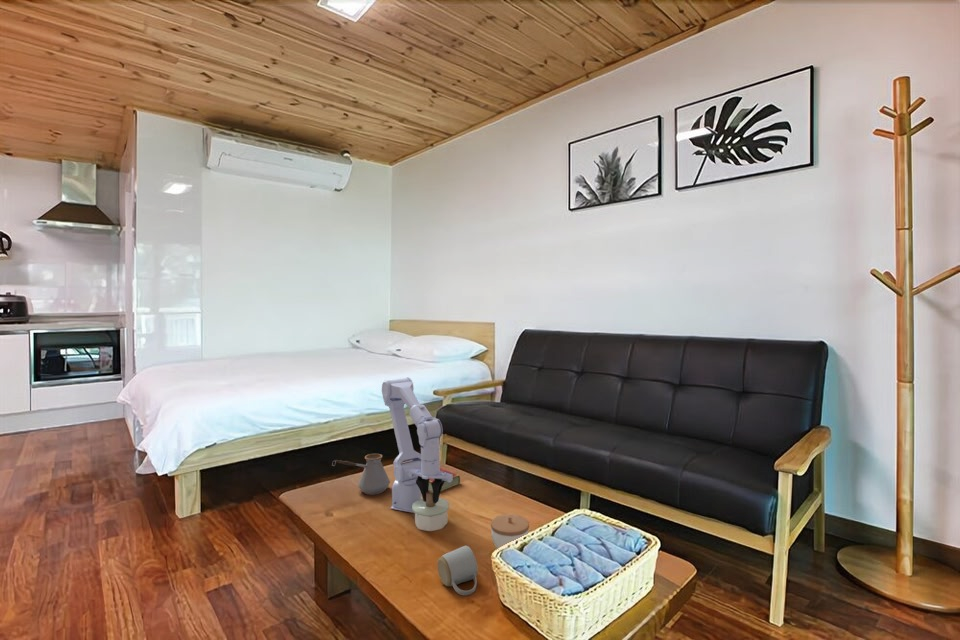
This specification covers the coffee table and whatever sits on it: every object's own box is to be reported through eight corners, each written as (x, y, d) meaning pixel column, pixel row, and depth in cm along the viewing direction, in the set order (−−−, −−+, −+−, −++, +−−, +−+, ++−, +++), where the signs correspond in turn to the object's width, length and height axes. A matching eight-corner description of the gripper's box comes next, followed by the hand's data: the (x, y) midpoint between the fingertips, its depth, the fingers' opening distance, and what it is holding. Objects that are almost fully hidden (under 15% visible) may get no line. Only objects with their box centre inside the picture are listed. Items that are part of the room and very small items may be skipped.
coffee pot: (380, 482, 181) (380, 443, 180) (395, 491, 172) (395, 451, 171) (327, 497, 167) (326, 456, 166) (340, 508, 158) (339, 464, 157)
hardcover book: (425, 471, 193) (425, 461, 193) (460, 485, 178) (460, 474, 178) (401, 479, 184) (401, 469, 184) (436, 494, 169) (435, 483, 169)
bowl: (410, 527, 144) (410, 513, 144) (425, 514, 153) (424, 501, 153) (437, 532, 141) (437, 518, 140) (451, 519, 149) (450, 505, 149)
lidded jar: (527, 562, 124) (527, 527, 124) (487, 558, 127) (487, 524, 126) (531, 541, 135) (530, 510, 135) (494, 538, 137) (494, 507, 137)
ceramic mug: (435, 578, 118) (435, 549, 117) (463, 568, 122) (463, 540, 121) (455, 602, 109) (455, 570, 108) (485, 590, 113) (485, 559, 112)
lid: (405, 513, 142) (405, 497, 142) (421, 498, 154) (421, 483, 153) (441, 517, 139) (441, 502, 139) (454, 502, 150) (454, 487, 150)
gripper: (403, 460, 145) (404, 502, 145) (445, 465, 139) (446, 510, 140) (414, 452, 151) (415, 494, 152) (455, 458, 146) (455, 500, 147)
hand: (430, 501), depth 146 cm, fingers closed on lid, 3 cm apart
